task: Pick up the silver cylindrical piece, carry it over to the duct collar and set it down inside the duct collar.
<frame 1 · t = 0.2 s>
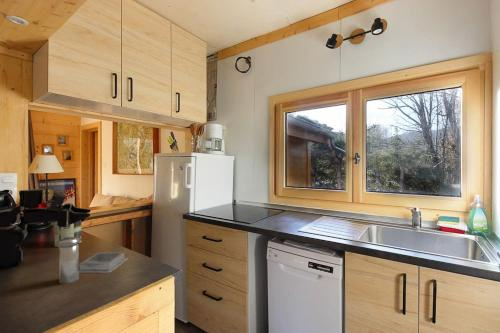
hand: (90, 212, 104), 16 cm above the worktop, tool horizontal, fingers open, 9 cm apart
coffee can: (68, 243, 114), on the worktop
silver cylindrical piece: (69, 279, 78), on the worktop
duct collar: (103, 265, 90), on the worktop
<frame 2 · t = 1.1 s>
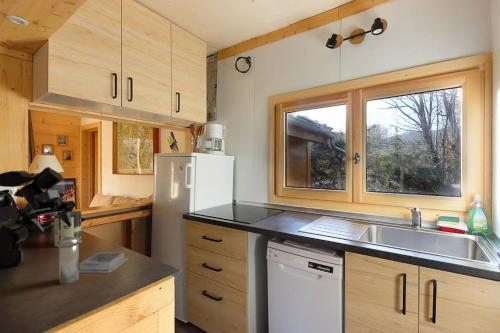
hand: (57, 229, 88), 14 cm above the worktop, tool tilted 45°, fingers open, 9 cm apart
nothing on the worktop moved.
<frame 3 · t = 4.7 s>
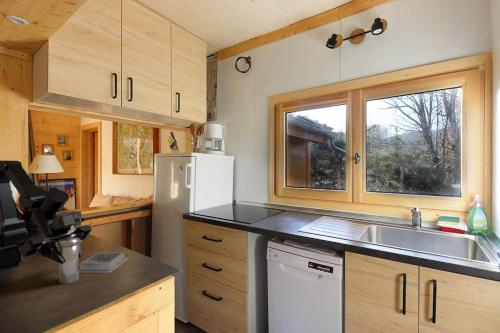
hand: (72, 259, 78), 7 cm above the worktop, tool tilted 45°, fingers closed on silver cylindrical piece, 5 cm apart
silver cylindrical piece: (69, 279, 78), on the worktop, touching gripper
everything else where it was.
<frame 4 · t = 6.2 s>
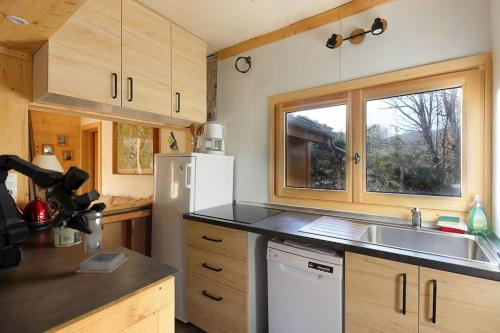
hand: (96, 231, 85), 14 cm above the worktop, tool tilted 45°, fingers closed on silver cylindrical piece, 5 cm apart
silver cylindrical piece: (93, 250, 85), point 7 cm above the worktop, touching gripper
everything else where it was.
when the fingers open (8 cm above the worktop, at t = 7.8 s): silver cylindrical piece stays where it is, resting on duct collar.
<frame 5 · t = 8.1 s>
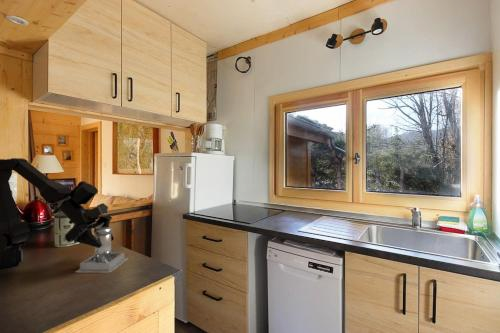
hand: (106, 243, 90), 8 cm above the worktop, tool tilted 45°, fingers open, 7 cm apart
silver cylindrical piece: (103, 264, 90), resting on duct collar
everything else where it was.
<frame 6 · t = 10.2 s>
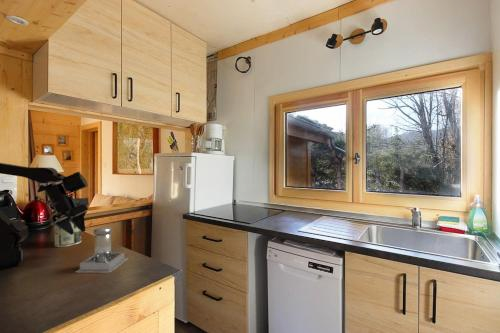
hand: (78, 232, 98), 10 cm above the worktop, tool tilted 25°, fingers open, 9 cm apart
nothing on the worktop moved.
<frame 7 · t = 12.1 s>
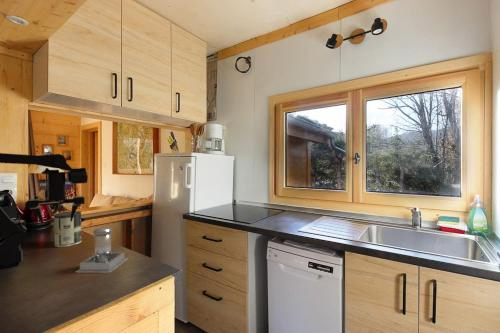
hand: (57, 222, 100), 13 cm above the worktop, tool pointing down, fingers open, 9 cm apart
nothing on the worktop moved.
at the end: silver cylindrical piece 0.1 cm off-centre on the duct collar, point 0.3 cm above the duct collar's base; silver cylindrical piece tilted 1°; the gripper is holding nothing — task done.
